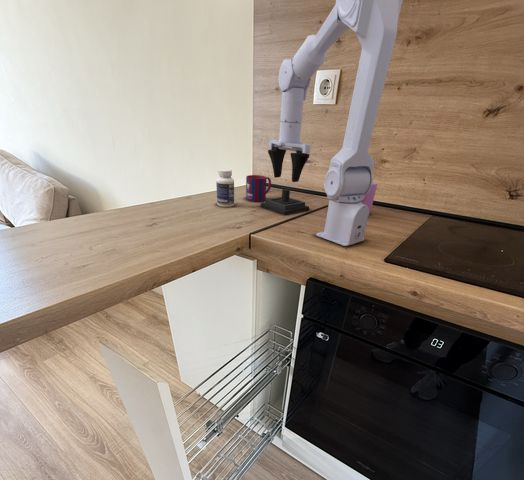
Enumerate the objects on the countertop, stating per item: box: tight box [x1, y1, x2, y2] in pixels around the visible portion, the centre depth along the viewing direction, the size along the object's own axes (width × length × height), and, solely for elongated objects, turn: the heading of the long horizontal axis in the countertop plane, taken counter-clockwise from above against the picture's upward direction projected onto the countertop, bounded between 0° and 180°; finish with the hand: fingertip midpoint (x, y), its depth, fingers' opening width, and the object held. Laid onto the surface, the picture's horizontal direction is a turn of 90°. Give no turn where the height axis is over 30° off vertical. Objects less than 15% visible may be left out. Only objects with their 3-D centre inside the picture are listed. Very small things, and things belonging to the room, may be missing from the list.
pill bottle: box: [215, 168, 235, 208], centre depth 93 cm, size 5×5×10 cm
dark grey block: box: [274, 188, 296, 205], centre depth 95 cm, size 5×5×4 cm
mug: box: [245, 174, 272, 203], centre depth 103 cm, size 7×10×7 cm
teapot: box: [361, 182, 378, 213], centre depth 93 cm, size 18×14×10 cm
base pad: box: [260, 196, 310, 216], centre depth 96 cm, size 11×11×2 cm
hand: (286, 179), depth 90 cm, fingers open, 7 cm apart
